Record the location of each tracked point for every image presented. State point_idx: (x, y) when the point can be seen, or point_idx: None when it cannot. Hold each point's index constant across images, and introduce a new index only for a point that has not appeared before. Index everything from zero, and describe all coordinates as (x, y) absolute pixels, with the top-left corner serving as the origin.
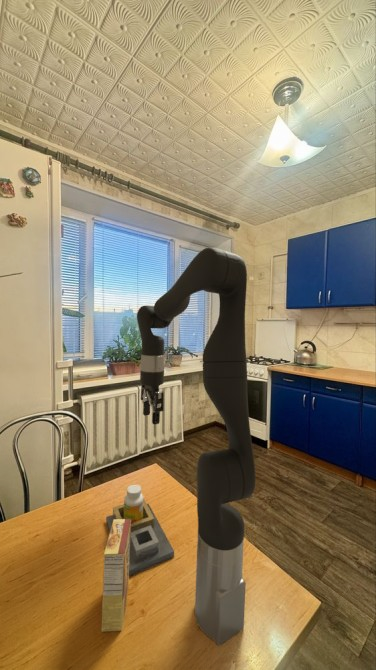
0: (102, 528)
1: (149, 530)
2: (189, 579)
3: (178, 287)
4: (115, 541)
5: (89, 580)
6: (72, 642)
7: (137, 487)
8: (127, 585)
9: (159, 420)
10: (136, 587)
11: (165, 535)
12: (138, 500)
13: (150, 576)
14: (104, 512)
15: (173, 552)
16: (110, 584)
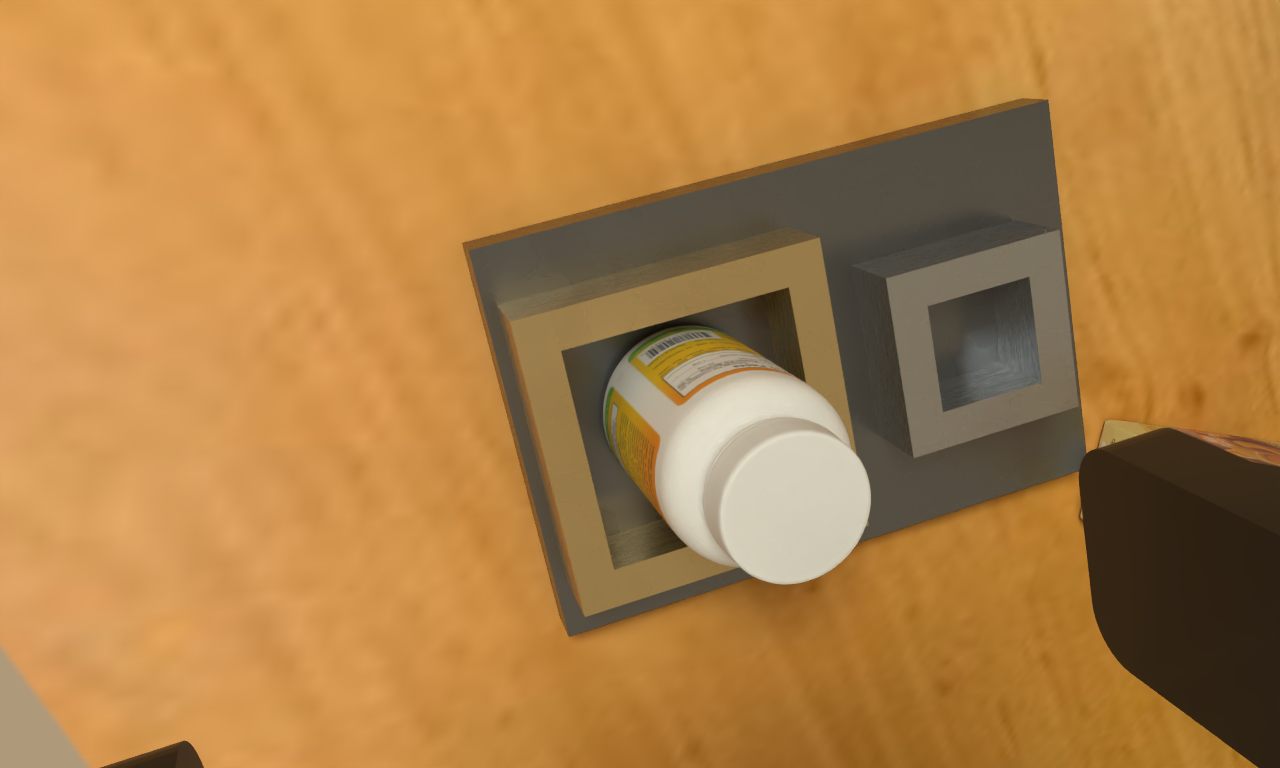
0: (625, 633)
1: (935, 294)
2: (1193, 31)
3: None
4: None
5: (1006, 639)
6: None
7: (786, 473)
8: (1250, 451)
9: (1213, 450)
10: (1128, 371)
11: (896, 141)
12: (841, 434)
13: (1096, 283)
14: (439, 647)
15: (1044, 105)
16: None
